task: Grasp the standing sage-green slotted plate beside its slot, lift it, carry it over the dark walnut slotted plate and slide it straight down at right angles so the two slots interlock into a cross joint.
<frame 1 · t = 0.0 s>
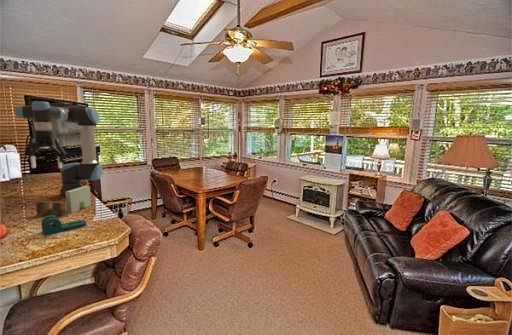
hand: (47, 167, 149), 28 cm above the worktop, fingers open, 13 cm apart
sage slotted plate: (79, 208, 166), on the worktop
walnut slotted plate: (51, 215, 153), on the worktop
bracket: (66, 229, 135), on the worktop
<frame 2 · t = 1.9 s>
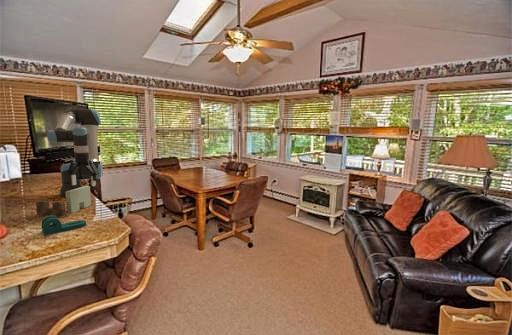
hand: (84, 185, 168), 14 cm above the worktop, fingers open, 13 cm apart
nothing on the worktop moved.
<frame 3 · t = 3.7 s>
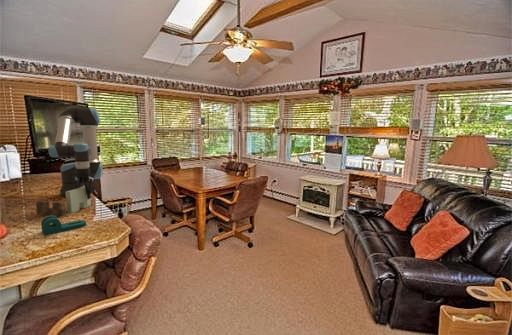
hand: (85, 203, 170), 2 cm above the worktop, fingers closed on sage slotted plate, 3 cm apart
sage slotted plate: (79, 208, 166), on the worktop, touching gripper
everything else where it was.
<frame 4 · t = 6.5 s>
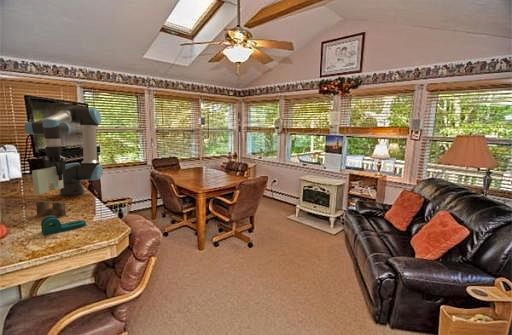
hand: (56, 185, 156), 17 cm above the worktop, fingers closed on sage slotted plate, 3 cm apart
sage slotted plate: (49, 190, 151), point 15 cm above the worktop, touching gripper
everything else where it was.
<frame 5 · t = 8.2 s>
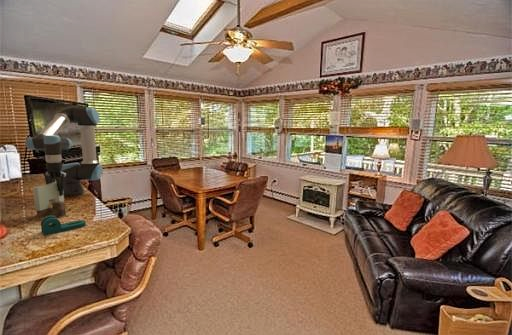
hand: (57, 200, 157), 7 cm above the worktop, fingers closed on sage slotted plate, 3 cm apart
sage slotted plate: (50, 206, 152), point 5 cm above the worktop, touching gripper
everything else where it was.
when the fingers open (3 cm above the worktop, at t = 9.7 s): sage slotted plate drops 1 cm, on the worktop.
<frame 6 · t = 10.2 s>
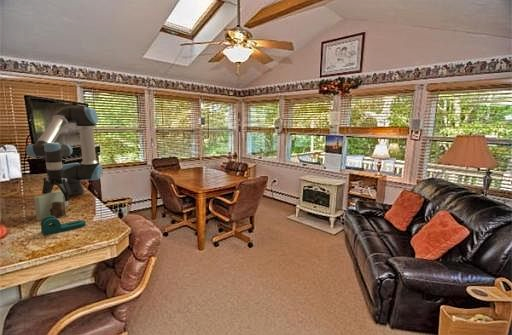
hand: (58, 205, 158), 4 cm above the worktop, fingers open, 10 cm apart
sage slotted plate: (51, 215, 153), on the worktop
everything else where it was.
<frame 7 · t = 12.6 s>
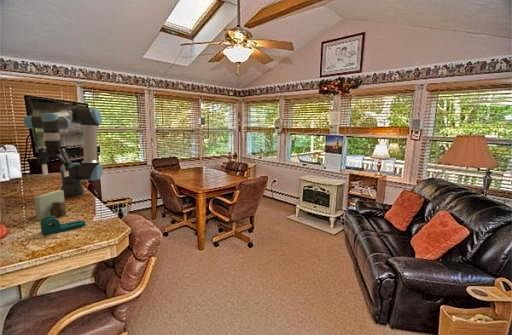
hand: (56, 175, 156), 22 cm above the worktop, fingers open, 13 cm apart
nothing on the worktop moved.
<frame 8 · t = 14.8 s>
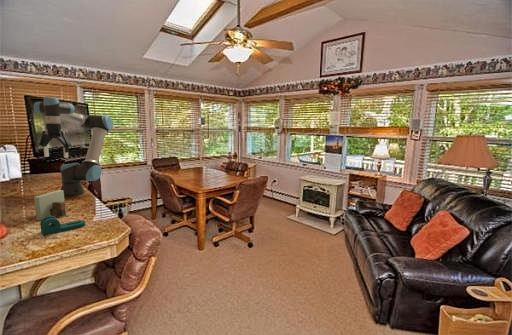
hand: (56, 157, 166), 32 cm above the worktop, fingers open, 13 cm apart
nothing on the worktop moved.
at the end: sage slotted plate 0.1 cm off-centre on the walnut slotted plate, point 0.0 cm above the walnut slotted plate's base; sage slotted plate tilted 0°; the gripper is holding nothing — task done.
